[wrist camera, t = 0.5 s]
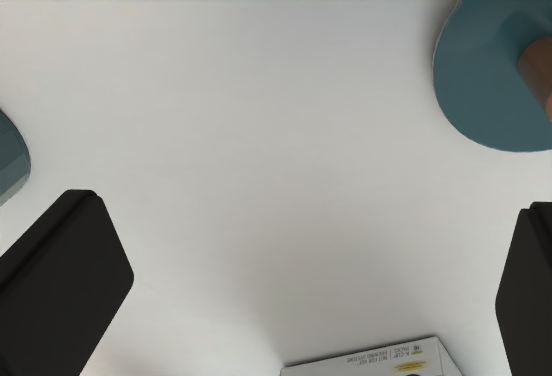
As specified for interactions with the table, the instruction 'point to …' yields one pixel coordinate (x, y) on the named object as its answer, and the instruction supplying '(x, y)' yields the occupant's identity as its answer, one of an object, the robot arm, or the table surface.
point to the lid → (497, 73)
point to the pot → (12, 160)
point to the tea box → (385, 362)
